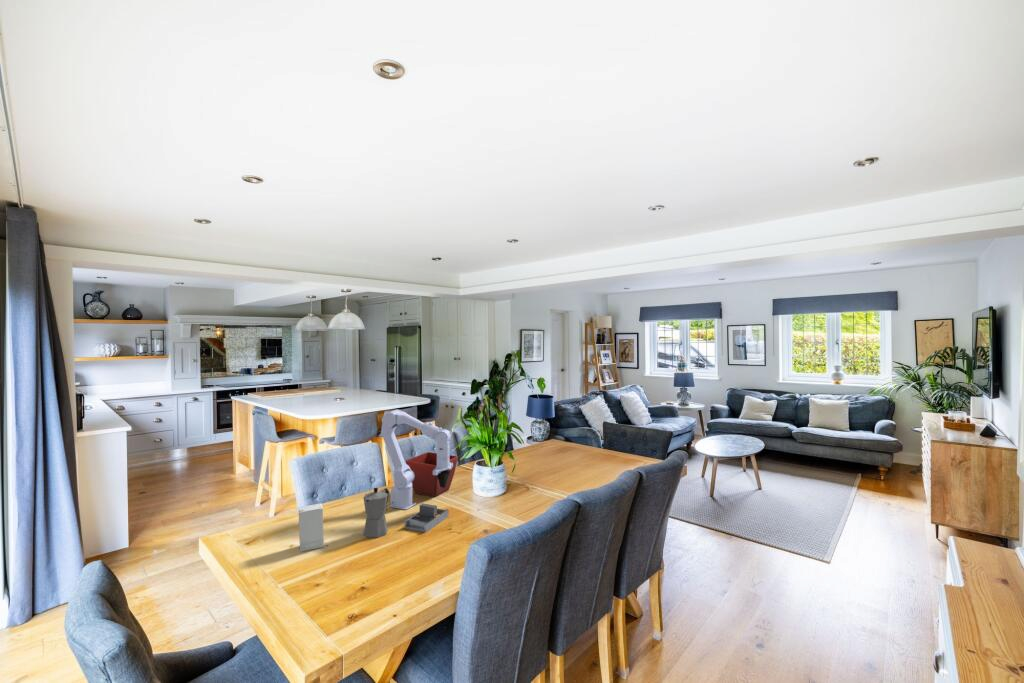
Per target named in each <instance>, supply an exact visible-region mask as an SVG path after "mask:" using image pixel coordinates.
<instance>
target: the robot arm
mask: <svg viewBox="0 0 1024 683" xmlns="http://www.w3.org/2000/svg"><path fill="white" fill-rule="evenodd" d="M381 422H382V423H381V431H380V434H381V436H382V439H383V441H384V444H385V447H386V449H387V452H388V455H389V458H390V460H391V462H392V466H393V468H394V469H393V480H394V481H393V483H394V485H393V486H392V487H391V490H390V505H389V507H390V508H395V509H400V510H406V511H407V510H409V509H410V508H413V507H414V506H417V502H413V487H412V481H413V480H414V473H413V471H411V469H410V467H409V466H408V465H407V464H406V460H405V458H404V456H403V453H402V450H401V447H400V445H399V444H400V443H399V441H398V440H397V437H396V434H395V431H396V428H397V427H398V426H399V425H401V424H402V425H403V424H406V425H408V426H411V427H412V428H415V429H417V430H420V432H421V434H422V435H424V436H426V437H427V438H430V439H432V440H434V441H435V442H436V453H437V467H436V468H435V469H434V470H433V475H436V476H437V477H438V480H439V484H440V487H443V488H444V487H446V483H447V479H448V476H449V474H450V473H451V471H450V469H452V467H453V463H449V457H450V455H451V454H450V447H451V446H450V440H451V438H452V433H451V431H449V430H448V429H447V428H442V427H441V426H440V427H438V426H436V425H435V424H434V423H433V422H428V421H427V422H422V421H421V420H419V419H417V418H416V417H413V415H412V416H411V415H410V414H408V413H407V412H406V411H402V410H401V409H397V408H396V409H394V410H391V411H389V412H386V413H384V414H383V416H382V418H381Z"/></svg>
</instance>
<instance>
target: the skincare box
mask: <svg viewBox="0 0 1024 683" xmlns="http://www.w3.org/2000/svg"><path fill="white" fill-rule="evenodd" d="M298 530H299V532H298V533H299V534H298V535H299V551H300V552H307V551H309V550H314V549H321V548H324V546H325V543H324V507H323V504H322V503H315V504H309V505H304V506H299V507H298Z"/></svg>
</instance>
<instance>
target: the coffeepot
mask: <svg viewBox="0 0 1024 683" xmlns="http://www.w3.org/2000/svg"><path fill="white" fill-rule="evenodd" d="M378 489H379V488H378V487H374V488H373V491H372V492H369V493H365V494H364V496H363V504H364V510H365V515H366V518H365V525H364V530H363V536H365V537H366V538H369V539H376V538H377V539H378V538H380V537H384V536H385V535H387V533H388V526H387V520H386V519H387V518H386V515H385V512H386V509H387V506H388V500H389V494H390V490H389V489H388V488H387V487H385V488H384V489H381V490H379V491H378Z"/></svg>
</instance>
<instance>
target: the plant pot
mask: <svg viewBox="0 0 1024 683" xmlns="http://www.w3.org/2000/svg"><path fill="white" fill-rule="evenodd" d="M405 463H406V464H407V465H408V466H409V467H410V469H411V471H413V473H414V480H413V481H412V491H413V492H414V494H418V495H423V496H428V497H433V498H435V497H437V496H439V495H441V494H444V493H445V492H447V491H449V490H450V488H451V485H452V482H453V480H454V475H455V473H456V469H457V467H456V466H457V463H458V456H457V455H451V454H450V457H449V463H453V467H452V469H450V471H451V473H450V474H449V476H448V479H447V483H446V487H444V488H443V487H440V484H439V480H438V477H437V476H436V475H433V470H434V469H435V468H436V467H437V452H431V451H427V452H425V453H422V454H419V455H416V456H414V457H411V458H409V459H407V460H405Z"/></svg>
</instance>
